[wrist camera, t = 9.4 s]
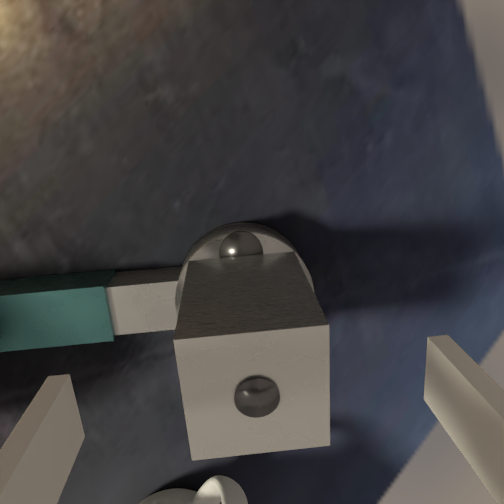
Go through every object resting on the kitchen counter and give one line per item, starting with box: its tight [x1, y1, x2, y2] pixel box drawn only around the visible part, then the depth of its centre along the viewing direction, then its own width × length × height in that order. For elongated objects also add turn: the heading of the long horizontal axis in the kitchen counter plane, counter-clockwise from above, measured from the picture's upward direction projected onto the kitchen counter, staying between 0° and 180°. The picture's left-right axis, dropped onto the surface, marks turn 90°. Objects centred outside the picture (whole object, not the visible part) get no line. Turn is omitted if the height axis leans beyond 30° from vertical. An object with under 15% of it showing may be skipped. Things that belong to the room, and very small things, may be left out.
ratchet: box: [0, 222, 314, 352], centre depth 24 cm, size 21×8×7 cm, turn 94°
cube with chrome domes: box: [173, 251, 330, 461], centre depth 21 cm, size 6×6×8 cm
